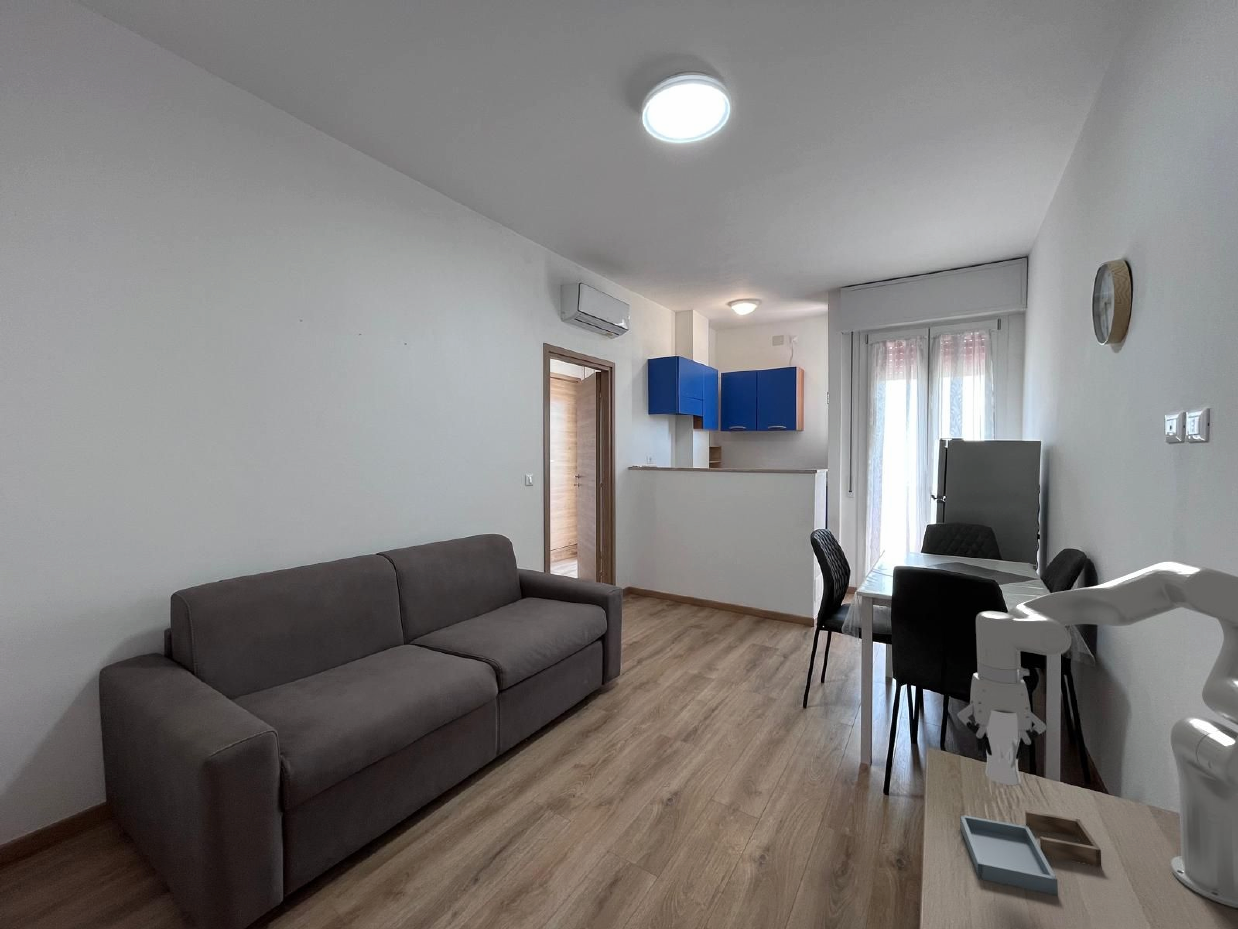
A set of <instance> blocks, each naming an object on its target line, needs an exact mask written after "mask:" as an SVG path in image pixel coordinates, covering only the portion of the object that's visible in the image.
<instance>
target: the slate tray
mask: <svg viewBox="0 0 1238 929" xmlns="http://www.w3.org/2000/svg"><path fill="white" fill-rule="evenodd" d="M959 826H960V831H961V833H962V836H963V840H964V842H965V845H966V847H967V850H968V853H969V856H970V858H971V861H972V864H973V866H974V869H975V873H976V875H977V878H978V879H980V880H986V881H990V882H995V883H999V884H1004V885H1009V886H1013V887H1017V888H1018V887H1019V888H1022V889H1025V890H1026V889H1027V890H1031V891H1036V892H1040V893H1045V894H1051V895H1054V896H1059V894H1058V893H1059V887H1058V882H1059V881H1058V878H1057V877H1056V874H1055V872H1054V871H1053V869H1052V867H1051V866H1050V864H1049V861H1048V859H1047V858H1046V856H1044V854H1043V853H1042V851H1041V849H1040V845H1039V844H1038V842H1037V840H1036V838H1035V836H1034V835H1033V832H1032V830H1031V829H1030V828H1029V827H1026V825H1021V824H1020V825H1019V824H1015V823H1010V822H1009V823H1008V822H1003V821H998V820H991V819H988V818H980V817H975V816H970V815H965V814H959Z"/></svg>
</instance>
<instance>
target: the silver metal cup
mask: <svg viewBox="0 0 1238 929" xmlns="http://www.w3.org/2000/svg"><path fill="white" fill-rule="evenodd" d="M984 738H985V739H986V767H985V771H984V773H985V776H986V777H987V778H988V779H990V780H991V781H993V782H996V783H997V784H1000V785H1004V786H1010V787H1013V786H1018V785H1020V784H1021V782H1022V781H1021V775H1020V772H1019V764H1018V763H1019V757H1018V756H1019V751H1020V745H1021V738H1022V737H1021V730H1020V726H1019V722H1018V718H1017V713H1003V712H998V711H994V710H991V715H990V719H989V723H988V726H985V733H984Z"/></svg>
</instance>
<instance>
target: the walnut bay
mask: <svg viewBox="0 0 1238 929" xmlns="http://www.w3.org/2000/svg"><path fill="white" fill-rule="evenodd" d="M1024 812H1025V814H1024V815H1025V826H1026V827H1029V829H1030V830H1036V831H1042V832H1047V833H1053V834H1058V835H1063V836H1064V835H1065V836H1069V835H1070V837H1074V836H1076V837H1075V838H1077V839H1078V841H1079V840H1080V841H1079V842H1080V843H1076V842H1071V841H1066V840H1061V839H1055V838H1050V837H1044V836H1040V837H1039V841H1040V842H1039V844H1040V845H1039V847H1040V849H1041V851H1042V853H1043V854H1044V856H1045V857H1048V858H1054V859H1058V860H1064V861H1068V862H1073V863H1077V862H1078V864H1082V863H1085V864H1084V865H1088V864H1089V865H1088V866H1093V865H1095V866H1094V867H1098V866H1101V867H1102V852H1101V851H1102V849H1101V848H1100V846H1098V844H1097V842H1096V841H1095V839H1094V838H1093V836H1092V835H1091V834H1090V832H1089V831H1088V830H1087V828H1086V827H1085V825H1084V824H1083V822H1082V821H1081V820H1080V819H1078V818H1072V817H1071V818H1070V817H1066V816H1060V815H1054V814H1048V813H1043V812H1037V811H1031V810H1024ZM1081 843H1082V844H1081ZM1079 862H1080V863H1079Z"/></svg>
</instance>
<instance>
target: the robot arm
mask: <svg viewBox="0 0 1238 929" xmlns="http://www.w3.org/2000/svg"><path fill="white" fill-rule="evenodd" d="M1180 608H1184V609H1187V610H1189V611H1193V612H1195V613H1199V614H1203V615H1204V616H1208V617H1212V618H1214V619H1216V620H1217V621H1218V623H1219V624H1220V626H1221V629H1222V632H1223V639H1222V640H1223V642H1222V645H1221V648H1220V650H1219V654H1218V656H1217V658H1216V660H1215V662H1214V664H1213V666H1212V668H1211V670H1210V672H1209V675H1208V677H1207V679H1206V681H1205V683H1204V684H1203V687H1202V691H1201V698H1202V701H1203V702H1204V704H1205V705H1206V706H1207V708H1208V709H1210V710H1211V711H1212V712H1214V713H1216V715H1218V716H1220V717H1222V718H1224V719H1225V720H1228V721H1229V722H1231V723H1233V724H1235V725H1236V726H1238V576H1235V575H1234V574H1233V575H1232V574H1230V573H1226V572H1223V571H1220V570H1216V569H1213V568H1210V567H1209V568H1208V567H1204V566H1200V565H1196V564H1192V563H1188V562H1187V563H1186V562H1183V561H1182V562H1181V561H1174V560H1169V561H1166V560H1165V561H1162V562H1159V563H1158V562H1157V563H1154V564H1151V565H1148V566H1146V567H1144V568H1141V569H1138V570H1136V571H1133V572H1131V573H1128V574H1125V575H1122V576H1120V577H1117V578H1113V579H1112V580H1109V581H1106V582H1104V583H1101V584H1098V585H1094V586H1088V587H1081V588H1075V589H1069V590H1064V591H1057V592H1052V593H1051V592H1050V593H1048V594H1047V593H1046V594H1045V595H1041V596H1038V597H1035V598H1032V599H1030V600H1027V601H1024V602H1022V603H1019V604H1018V605H1015V606H1014V607H1012V608H1011V609H1010V610H1008V611H1007V612H1002V611H994V610H987V611H986V610H985V611H981V612H979V613H978V614H977V615H976V617H975V634H976V637H975V639H976V659H977V660H976V662H977V663H976V664H977V672H975V673H973V675H972V678H971V684H970V700H969V704H968V705H967V706H966V707H965V708H963V709H961V710H960V711H958V712H957V714H956V715H957V716H956V717H958V718H957V719H958V720H960V721H961V722H962V723H963V724H964V725H965V726H966V727H967V729H969V730H970V731H971V732H972V733H973V734H974V735H975V737H974V738H975V748H976V752H977V751H978V752H979V753H980V756H981V757H982V758H987V752H986V739H985V738H984V733H985V726H988V723H989V719H990V715H991V710H994V711H998V712H1003V713H1017V718H1018V722H1019V726H1020V730H1021V737H1022V738H1021V745H1020V751H1019V756H1018V760H1020V762H1021V763H1023V764H1027V759H1029V758H1030V750H1029V749H1030V748H1029V746H1030V745H1031V744H1032V741H1034V740H1035V739H1036V738H1038V737H1039V736H1040V734H1042V733H1044V732H1045V731H1046V730H1047V726H1046V724H1045V723H1044V722H1043V721H1042V720H1041V719H1039V717H1037V716H1036V715H1035V714H1034V713H1033V712H1032V711H1031V704H1030V700H1029V699H1030V698H1029V693H1028V689H1027V684H1026V682H1025V681H1024V679H1023V678H1024V677H1025V676H1026V677H1027V676H1028V677H1029V676H1030V670H1029V669H1028V668H1024V667H1022V666H1021V664H1022V663H1021V652H1026V653H1031V654H1032V653H1033V654H1037V655H1042V656H1058V655H1061V654H1063V653H1065V652H1068V650H1069V648H1070V647H1071V645H1072V636H1071V634H1070V632H1069V630H1068V628H1067V626H1072V625H1073V626H1074V625H1096V626H1097V625H1098V626H1107V627H1108V626H1109V627H1110V626H1111V627H1123V626H1125V627H1126V626H1130V625H1134V624H1135V623H1138V622H1141V621H1145V620H1147V619H1150V618H1152V617H1156V616H1158V615H1161V614H1162V615H1163V614H1164V613H1168V612H1170V611H1173V610H1176V609H1180ZM970 716H973V717H974V721H975V723H973V722H972V721H971V720H970V719H969V717H970ZM1033 724H1034V725H1033ZM1032 725H1033V726H1032ZM1170 744H1171V749H1172V754H1173V757H1174V759H1175V760H1174V761H1175V765H1176V768H1177V769H1176V770H1177V778H1178V800H1179V805H1178V806H1179V828H1180V831H1179V832H1180V834H1179V835H1180V852H1181V853H1180V856H1175V857H1173V858H1172V859H1171V860H1170V868H1171V872H1172V874H1173V875H1174V877H1176V878H1177V879H1178V880H1179V881H1180V882H1181V883H1182V884H1184V885H1185V886H1186V887H1188V888H1189V889H1190V890H1192V891H1193V892H1196V893H1198V894H1199V895H1201V896H1203V897H1205V898H1207V899H1210V900H1211V901H1214V902H1217V903H1219V904H1222V905H1225V906H1228V907H1232V908H1234V909H1235V908H1236V909H1238V732H1237V731H1235V730H1233V729H1231V728H1230V727H1228V726H1226V725H1224V724H1223V723H1221V722H1218V721H1215V720H1213V719H1209V718H1207V717H1202V716H1187V717H1183V718H1181V719H1178V720H1177V721H1176V723H1175V724H1174V725H1173V726H1172V728H1171V731H1170Z"/></svg>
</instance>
